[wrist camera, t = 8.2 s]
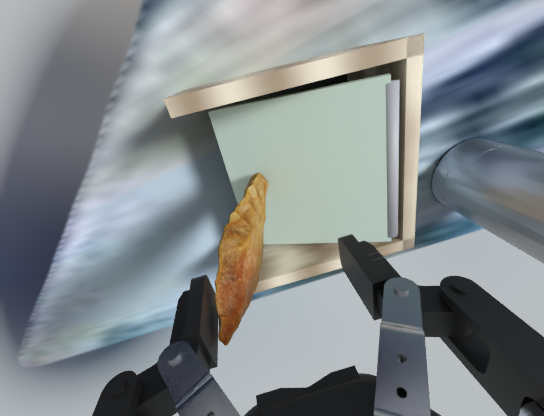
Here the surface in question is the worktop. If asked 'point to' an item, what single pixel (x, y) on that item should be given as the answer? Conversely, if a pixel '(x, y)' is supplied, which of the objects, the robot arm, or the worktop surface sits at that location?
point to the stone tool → (240, 257)
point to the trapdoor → (319, 160)
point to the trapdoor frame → (354, 62)
